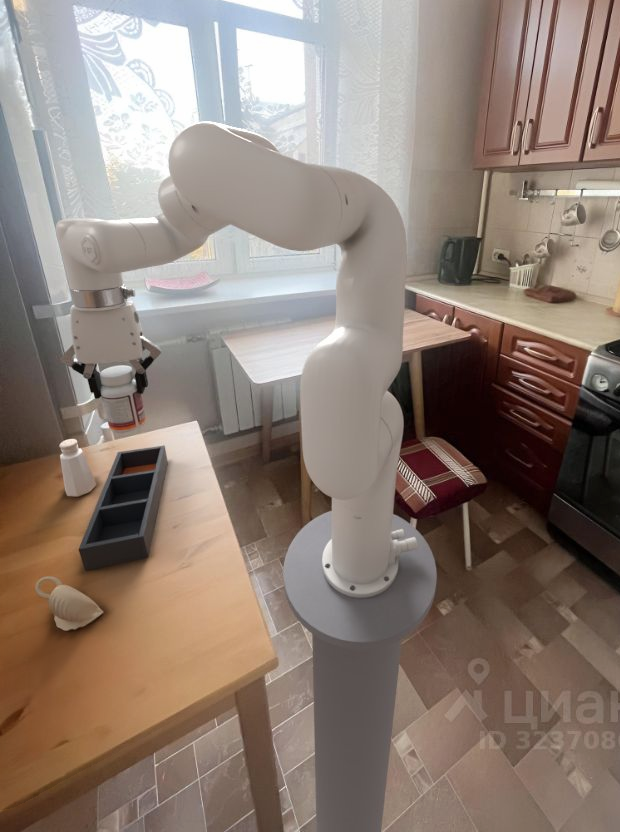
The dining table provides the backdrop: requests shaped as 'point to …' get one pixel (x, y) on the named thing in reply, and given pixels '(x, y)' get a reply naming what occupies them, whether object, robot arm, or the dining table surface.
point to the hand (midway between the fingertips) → (121, 392)
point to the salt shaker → (75, 469)
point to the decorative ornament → (69, 605)
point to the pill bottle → (121, 399)
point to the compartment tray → (126, 509)
